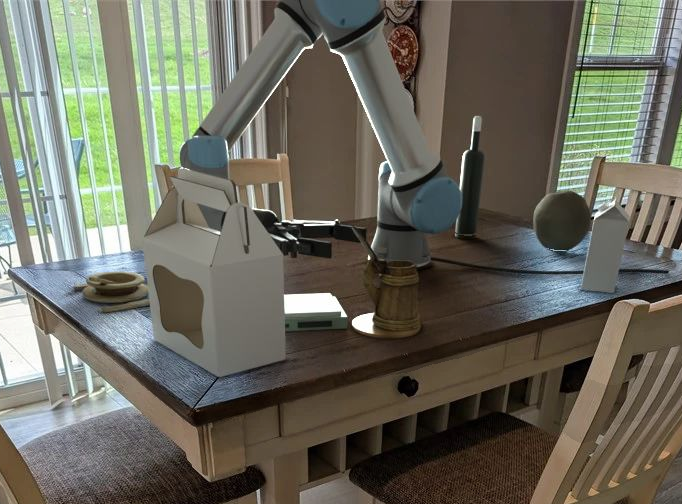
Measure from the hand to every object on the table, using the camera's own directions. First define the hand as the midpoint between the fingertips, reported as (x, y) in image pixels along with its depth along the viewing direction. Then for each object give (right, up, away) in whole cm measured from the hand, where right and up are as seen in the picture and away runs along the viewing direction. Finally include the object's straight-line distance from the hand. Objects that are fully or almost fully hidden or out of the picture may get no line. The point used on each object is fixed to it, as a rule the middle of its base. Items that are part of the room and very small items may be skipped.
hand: (348, 242), depth 134 cm
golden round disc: (+7, -15, +4) cm, 17 cm away
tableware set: (-41, -3, +21) cm, 46 cm away
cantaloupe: (+55, +17, +56) cm, 80 cm away
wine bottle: (+33, +26, +70) cm, 81 cm away
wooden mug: (+7, -15, +3) cm, 16 cm away
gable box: (-23, -22, -8) cm, 32 cm away
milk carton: (+56, 0, +29) cm, 63 cm away
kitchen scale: (-8, -12, +6) cm, 16 cm away
